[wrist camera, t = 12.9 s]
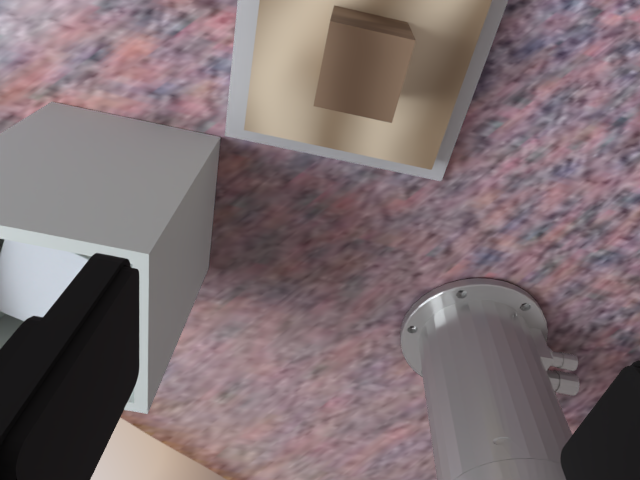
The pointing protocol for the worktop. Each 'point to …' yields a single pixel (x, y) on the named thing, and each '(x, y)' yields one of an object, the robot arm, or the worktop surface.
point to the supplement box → (34, 277)
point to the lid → (362, 73)
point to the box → (116, 211)
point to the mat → (235, 129)
